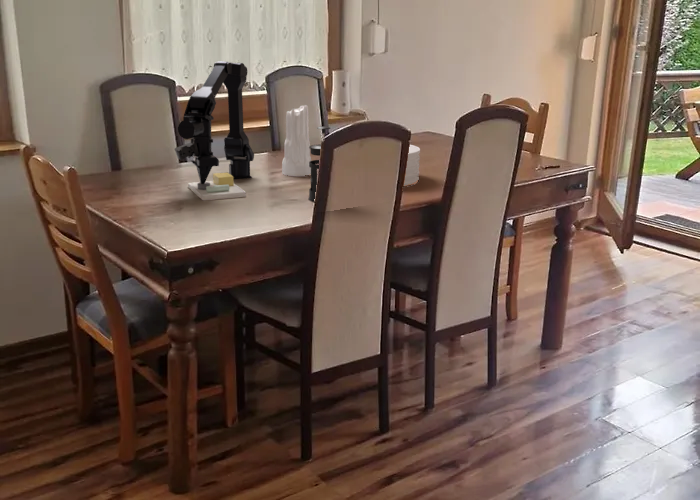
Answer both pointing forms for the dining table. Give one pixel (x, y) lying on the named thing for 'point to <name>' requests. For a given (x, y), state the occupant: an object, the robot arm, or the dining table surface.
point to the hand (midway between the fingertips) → (202, 183)
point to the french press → (315, 166)
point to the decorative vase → (297, 143)
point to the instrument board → (217, 195)
